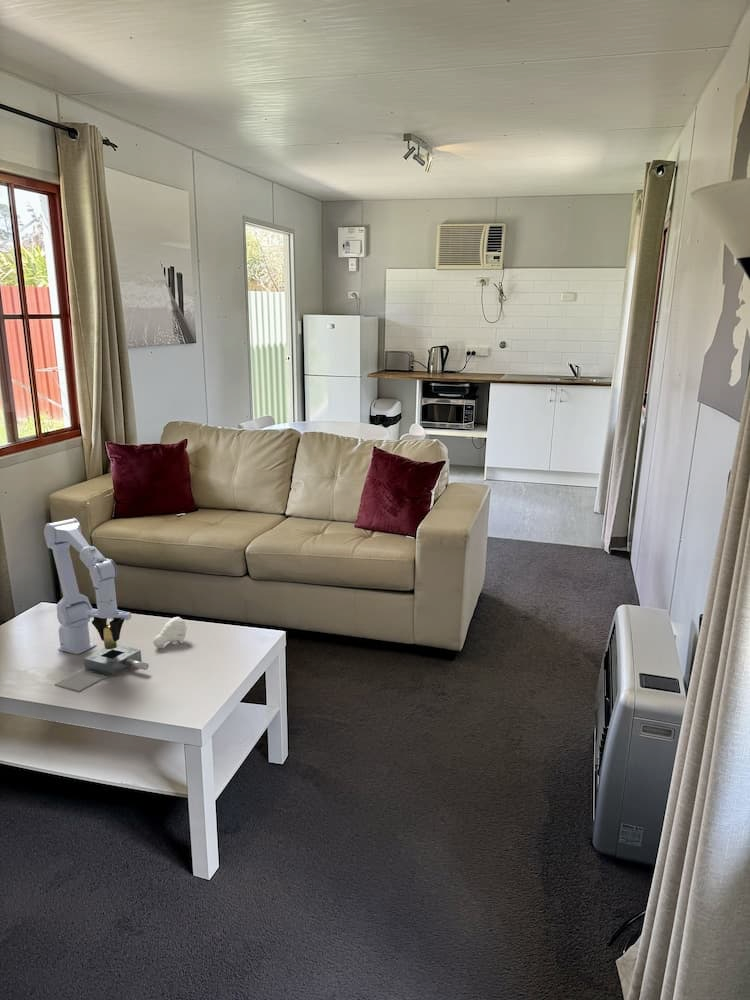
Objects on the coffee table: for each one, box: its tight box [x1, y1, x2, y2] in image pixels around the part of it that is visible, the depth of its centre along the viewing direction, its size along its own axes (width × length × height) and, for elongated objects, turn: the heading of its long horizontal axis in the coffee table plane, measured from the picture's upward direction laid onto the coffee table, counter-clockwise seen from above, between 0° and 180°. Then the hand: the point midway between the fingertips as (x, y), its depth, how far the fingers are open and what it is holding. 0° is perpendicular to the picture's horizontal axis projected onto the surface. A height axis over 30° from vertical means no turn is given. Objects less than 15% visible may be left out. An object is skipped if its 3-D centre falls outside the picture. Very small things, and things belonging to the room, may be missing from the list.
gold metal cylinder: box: [103, 623, 118, 650], centre depth 218 cm, size 4×4×7 cm
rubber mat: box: [54, 669, 107, 693], centre depth 211 cm, size 10×10×1 cm
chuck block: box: [83, 644, 149, 678], centre depth 219 cm, size 20×12×4 cm, turn 64°
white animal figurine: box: [152, 616, 188, 650], centre depth 235 cm, size 6×8×12 cm
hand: (110, 639), depth 219 cm, fingers closed on gold metal cylinder, 4 cm apart
